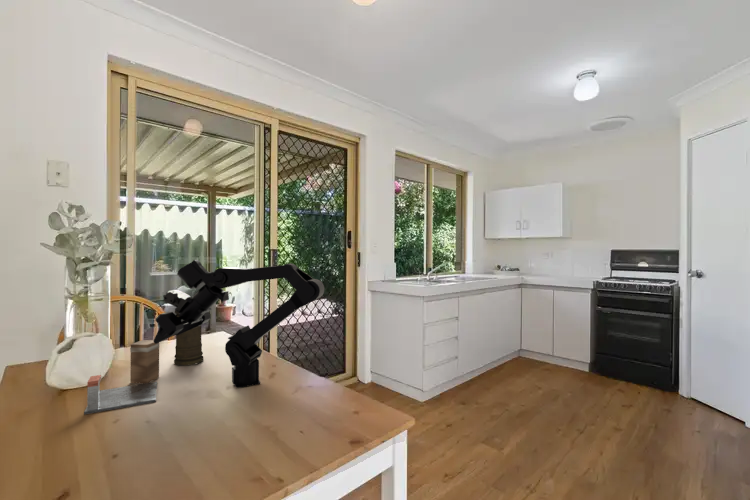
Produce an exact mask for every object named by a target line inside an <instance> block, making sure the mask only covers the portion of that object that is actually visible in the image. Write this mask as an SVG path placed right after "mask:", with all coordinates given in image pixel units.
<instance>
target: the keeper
mask: <svg viewBox="0 0 750 500" xmlns="http://www.w3.org/2000/svg"><path fill="white" fill-rule="evenodd" d="M101 381H102V374H98V375H92V376H90V377H89V378H88V380H87V385H86V386H87V393H86V395H87V397H86V398H87V401H86V403H87V406H86V408H85V410H84V413H83V415H84V416H85V415H88V414H89V415H90V414H94V413H95V414H96V413H100V412H107V411H111V410H118V409H123V408H129V407H135V406H139V405H145V404H146V405H147V404H151V403H156V402H157V389H158V388H157V387H158V385H157V384H158V383H157V382H158V381H151V382H149V383H145V384H142V383H137V384H132V385H127V386H126V385H125V386H120V387H114V388H106V389H100V383H101Z"/></svg>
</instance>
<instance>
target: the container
mask: <svg viewBox="0 0 750 500" xmlns="http://www.w3.org/2000/svg"><path fill="white" fill-rule="evenodd" d="M174 314H175V315H176V316H177V317H180V315H179V312H177V311H176V310H175V309H174ZM202 320H203V319H201V321H202ZM174 347H175V354H174V356H173V357H174V360H173V363H174V365H175V366H183V367H184V366H185V367H186V366H193V365H197V364H200V363H202V362H203V361H204V356H203V354H204V352H203V350H202V348H203V343H202V325H200V326H198V327H196V328H193V329H191V330H189V331H187V332H184V333H182V334H180V335H178V336H176V335H175V346H174Z"/></svg>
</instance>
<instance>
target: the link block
mask: <svg viewBox="0 0 750 500" xmlns="http://www.w3.org/2000/svg"><path fill="white" fill-rule="evenodd" d="M129 350H130V370H129V371H130V375H129V376H130V377H129V378H130V380H129V381H130V384H145V383H151V382H154V381H155V380H157V379H159V378H160V342H159V343H157V344H155V343H154V339H142V340H139V341H136V342H133V343H131V344H130V349H129Z"/></svg>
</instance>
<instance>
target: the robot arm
mask: <svg viewBox="0 0 750 500" xmlns="http://www.w3.org/2000/svg"><path fill="white" fill-rule="evenodd" d="M176 275H177V276H178V277H179V279H181V280H182V282H183V283H185V285H186V286H187V287H188V288H189V289H190V290H194V289H195V290H198V291H197V292H196V293H195V294H194V295H192V296H190V295H189V294H187V293H185V292H184V291H181V290H179V289H172V290H168V291H167V292H166V293H165V294H163V302H164V303H165V304H169V305H171V306H173V307H175V309H174V311H175V310H176V311H177V312H179V315H180V317H177V316H176V313H175V312H173V311H167V312H162V313H160V314H159V315H158V316H157V317H156V318H155V322H156V323H157V324H158V325H159V328H158V330H157V332H156V335H155V336H154V338H153V340H154V343H155V344H157V343H159V344H160V343H161V342H164V341H165V340H168V339H169V338H172V337H174V336H175V337H176V336H178V335H180V334H182V333H184V332H187V331H189V330H191V329H193V328H196V327H198V326H200V325H201V326H202V325H204V324H206V323H208V322H209V321H210V319H211V317H212V316H211V313H210V312H211V311H212V308H211V307H213V306H214V305H215V304H216V303H217V302H218V301H220V302H223V303H224V302H226V301H229V299H230V297H229V296H230V295H229V292H230V291H228V290H226V291H225V290H224V289H226V288H230V287H235V286H239V285H241V284H245V283H249V282H255V281H256V282H257V281H267V280H276V279H285V280H286V281H287V282H288V283H289V284H290V285H291V287H292V288H293V289H295V291H294V292H293V293H292V295H291V296H290V298H289V299H287V300H286V301H284V303H283V304H281V305H280V306H279V307H277V308H276V309H274V310H273V311H272V312H271V313H269V314H268V315H266V317H264V318H263V319H262V320H261V321H259V322H258V323H256V324H255V325H254V326H252V327H250V325H249V324H247V325H246V326H244V327H242V328H240V329H238V330H237V331H235V333H234V334H233V335H231V336H229V337H227V339H228V341H227V342H226V343H225V347H224V350H225V353H226V355H227V357H228V358H229V360H230V363H231V366H232V367H231V382H232V384H233V385H234V386H235V388H236V389H239V388H240V389H241V388H245V387H246V388H247V387H251V386H256V385H261V380H260V360H259V358H260V357H261V355H262V353H263V349H261V348H260V347H259V345H257V344H258V343H259V342H260V340H261V339H262V338H263V337H264V336H265V335H266V334H267V333H269V332H271V331H272V330H273V329H274V328H275V327H277V326H279V324H281V323H282V322H283V321H285V320H286V319H287V318H289V317H290V316H291V315H293V314H294V313H295V312H296V311H297V310H299V309H301V308H302V307H304V306H306V305H308V304H311V303H312V302H314V301H316V300H317V299H319V298H321V297H322V296H323V295H324V293H325V285H324V283H323V281H321V280H320V279H317V278H316V279H315V278H313V277H312V276H310V275H309V274H308V273H307V272H306V271H303V270H302V269H300V268H299V267H298V266H297V265H296V264H294V263H284V264H282V265H273V266H264V267H263V266H262V267H255V268H245V267H235V266H233V267H232V266H228V267H227V266H226V267H218V268H216V269H215V270H214V271H210V272H209V270H207V269H206V268H205V267H204V266H203V264H202V263H201V261H200V260H198V259H194V260H192V261H191V262H190V263H188V264H187V263H186V264H185V265H184V266H182V267H181V268H180V269H179V270H178V271H177V272H176ZM201 320H202V321H201Z"/></svg>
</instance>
